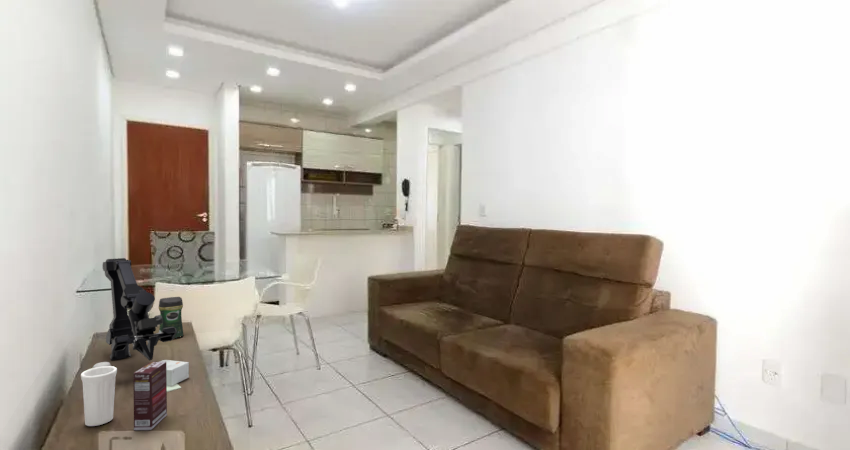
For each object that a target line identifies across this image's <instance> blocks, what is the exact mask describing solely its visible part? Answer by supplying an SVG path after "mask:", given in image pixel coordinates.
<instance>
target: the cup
mask: <svg viewBox="0 0 850 450" xmlns="http://www.w3.org/2000/svg"><path fill="white" fill-rule="evenodd" d="M117 373H118V368H117V367H115V366H114V365H113V366H112V365H111V366H102V367H96V368H93V367H92V368H88V369H87V370H84V371H83V372H81V373H80V379H81V381H82V396H83V412H84V426H87V427H95V426H100V425H103V424H107V423H108V422H110V421H112V420H113V419H114V408H115V395H116V394H115V391H116V389H115V388H116V375H117Z"/></svg>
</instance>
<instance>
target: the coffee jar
mask: <svg viewBox="0 0 850 450" xmlns="http://www.w3.org/2000/svg"><path fill="white" fill-rule="evenodd" d="M183 306H184V302H183V298H182V297H181V296H170V297H163V298H160V299H159V301H158V310H159V313H160V314H159V315H161V316H162V320H163V323H162V324H161V325H159V328H158V333H160V332H161V331H162V329H163V328H167V327H175V328H176V331H177V333H176V335H175V337H174V338H176V339H178V338H177V337H180V336H182V337H183V336H184V328H183V327H184V326H183V320H182V319H183V317H182V309H183V308H184V307H183ZM180 338H181V337H180ZM159 340H160V338H159Z"/></svg>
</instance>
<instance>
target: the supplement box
mask: <svg viewBox="0 0 850 450" xmlns="http://www.w3.org/2000/svg"><path fill="white" fill-rule="evenodd" d="M132 381H133V431H152V430H153V429H154V428H155V427H157V425H158V424H159V423H160V422H161V421H162V420H163V419H164V418H165V417H167V416H168V405H167V404H168V402H167V401H168V400H167V399H168V398H167V394H168V392H167V376H166V362H159V361H149V362H148V363H147V364H145V365H144V366H142V367H140V368H139V369H138V370H135V371H134V372H133V380H132Z"/></svg>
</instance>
